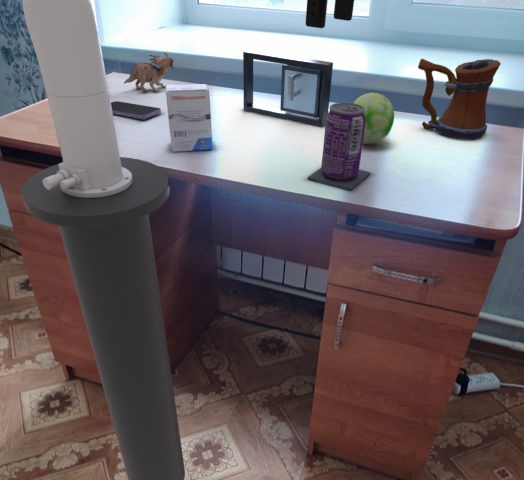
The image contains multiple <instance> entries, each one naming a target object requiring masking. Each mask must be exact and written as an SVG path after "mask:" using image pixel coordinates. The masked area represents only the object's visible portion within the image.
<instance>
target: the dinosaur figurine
mask: <svg viewBox="0 0 524 480" xmlns="http://www.w3.org/2000/svg"><path fill="white" fill-rule="evenodd" d="M163 54H164V55H165V57H166V58H163V57H162V56H161V55H158V54H148V56H149V57H151V58H149V59H148V62H140V63H137V64H135V65H134V66H133V68H132V69H131V72H130V75H129V77H128V78H126V80H125V81H124V82H123V84H125V85H126V84H127V83H128V84H129V83H132V82H134V81H136V82H135V88H136V89H138V90H141V92H142V93H143V94H147V93H148V92H149V91H148V90H147V89H146V88H145V84H146V83H148V85H149V86H150V88H151V89H152V92H153V93H158V90H157V89H156V88H155V86H158V87H162V88H163V89H166V85H164V83H162V82H161V81H162V80H163V79H164V78H165V77H166V76H167V74H168V71H169V70H174V68H175V67H174V64H173V63H175V61H174V59H173V58H172V57H171V56H170V55H169V54H168V53H167V52H163ZM149 61H151V62H149ZM155 65H156V66H155ZM139 84H140V85H139Z"/></svg>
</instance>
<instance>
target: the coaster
mask: <svg viewBox="0 0 524 480" xmlns="http://www.w3.org/2000/svg"><path fill="white" fill-rule="evenodd" d="M371 174H372V173H371V171H367V170H362V169H359V172H358V174H357V175H356V176H354V177H351V178H349V179H344V180H338V179H333V178H330V177H328V176H327V175H325V174H324V173H323V172H322V171H321V167H320V168H319V169H318V170H316V171H315V172H313V173H312V174H310V175H309V176H308V177H307V181H312V182H316V183H319V184H324V185H327V186H331V187H334V188H339V189H342V190H346V191H349V192H350V191H351V192H352V191H353V190H354V189H355V188H356V187H358V186H359V185H360V184H361V183H362V182H364V181H365V180H366V179H367V178H368V177H369V176H371Z"/></svg>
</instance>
